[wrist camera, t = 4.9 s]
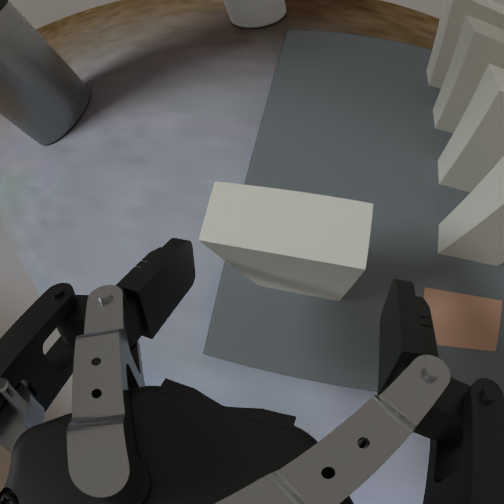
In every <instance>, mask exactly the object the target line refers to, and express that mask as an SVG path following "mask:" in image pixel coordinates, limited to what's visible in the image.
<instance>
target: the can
mask: <svg viewBox="0 0 504 504" xmlns="http://www.w3.org/2000/svg"><path fill="white" fill-rule="evenodd" d="M223 2H224V4H225V7H226V10H227V13H228V15H229V18H230V20H231V22H232V23H233V24H235V25H237V26H239V27H242V28H261V27H265V26H269V25H272V24H274V23H276V22H278V21H279V20H281V19H282V18H283V16H284V15H285V13H286V6H285V0H223Z"/></svg>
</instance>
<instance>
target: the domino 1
mask: <svg viewBox="0 0 504 504" xmlns="http://www.w3.org/2000/svg"><path fill="white" fill-rule="evenodd" d="M372 213H373V203H367V202H362V201H356V200H350V199H344V198H338V197H332V196H326V195H319V194H312V193H306V192H299V191H291V190H284V189H276V188H269V187H260V186H252V185H243V184H234V183H224V182H215V184H214V187H213V190H212V194H211V197H210V201H209V204H208V208H207V211H206V215H205V218H204V222H203V226H202V229H201V233H200V237H199V241H200V242H202V243H203V244H204V245H206V246H207V247H208V248H209V249H211V250H212V251H213V252H215V253H216V254H217V255H219V256H220V257H221V258H223V259H224V260H225V261H227V262H228V263H229V264H231V265H232V266H233V267H235V268H236V269H237V270H239V271H240V272H241V273H243V274H244V275H245V276H247V277H248V278H249V279H251V280H252V281H253V282H255V283H256V284H257V285H259V286H263V287H268V288H273V289H278V290H283V291H288V292H294V293H299V294H304V295H309V296H315V297H320V298H325V299H331V300H336V301H340V300H341V299H342V297H343V296H344V295H345V294H346V293H347V291H348V290H349V289H350V288H351V287H352V285H353V284H354V283H355V282H356V281H357V279H358V278H359V277H360V276H361V274H362V273H363V272H364V271H365V269H366V262H367V255H368V248H369V240H370V232H371V223H372Z"/></svg>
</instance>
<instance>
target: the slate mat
mask: <svg viewBox="0 0 504 504" xmlns="http://www.w3.org/2000/svg"><path fill="white" fill-rule="evenodd" d="M431 52H432V50H430V49H426V48H423V47H419V46H414V45H410V44H406V43H401V42H396V41H391V40H386V39H380V38H374V37H368V36H361V35H354V34H346V33H336V32H325V31H310V30H287V33H286V37H285V40H284V43H283V47H282V50H281V54H280V57H279V60H278V64H277V67H276V71H275V74H274V78H273V81H272V85H271V88H270V92H269V95H268V99H267V103H266V106H265V110H264V113H263V117H262V121H261V124H260V128H259V132H258V135H257V139H256V143H255V146H254V150H253V154H252V157H251V161H250V165H249V169H248V173H247V176H246V180H245V184H244V185H252V186H260V187H269V188H276V189H284V190H291V191H299V192H306V193H312V194H319V195H326V196H332V197H338V198H344V199H350V200H356V201H362V202H367V203H373V213H372V223H371V232H370V240H369V248H368V255H367V262H366V269H365V271H364V272H363V273H362V274H361V276H360V277H359V278H358V279H357V281H356V282H355V283H354V284H353V285H352V287H351V288H350V289H349V290H348V291H347V293H346V294H345V295H344V296H343V297H342V299H341V300H340V301H336V300H331V299H325V298H320V297H315V296H309V295H304V294H299V293H294V292H288V291H283V290H278V289H273V288H268V287H263V286H259V285H257V284H256V283H255V282H253V281H252V280H251V279H249V278H248V277H247V276H245V275H244V274H243V273H241V272H240V271H239V270H237V269H236V268H235V267H233V266H232V265H231V264H229V263H228V262H227V261H225V263H224V267H223V271H222V275H221V280H220V284H219V288H218V292H217V296H216V300H215V305H214V309H213V313H212V318H211V322H210V326H209V330H208V335H207V339H206V344H205V348H204V352H203V354H206V355H209V356H212V357H216V358H219V359H223V360H226V361H230V362H234V363H238V364H241V365H245V366H249V367H253V368H257V369H261V370H265V371H269V372H274V373H278V374H282V375H287V376H292V377H296V378H301V379H306V380H311V381H316V382H322V383H327V384H333V385H338V386H344V387H351V388H357V389H364V390H371V391H378V376H379V326H380V317H381V313H382V309H383V307H384V304H385V301H386V298H387V295H388V292H389V289H390V286H391V283H392V281H393V279H394V278H395V279H401V280H406V281H412V282H413V284H414V289H415V294H416V296H419V297H423V298H424V299H425V301H426V302H427V304H428V305H429V307H430V311H431V315H432V321H433V328H434V331H435V337H436V343H437V349H438V356H439V359H441V360H442V361H443V362H444V363H445V364H446V365H447V367H448V369H449V371H450V376H451V377H452V378H454V379H456V380H458V381H460V382H463V383H465V384H468V385H470V386H472V384H473V383H474V382H475V381H476V380H478V379H480V378H488V379H491V380H493V381H494V382H495V383H497V384H498V385H499V387H500V388H501V390H502V392H503V396H504V263H502V264H500V265H498V266H494V265H489V264H485V263H480V262H476V261H471V260H466V259H461V258H457V257H452V256H447V255H442V254H437V253H438V235H439V224H440V223H441V222H442V221H443V220H444V219H445V218H446V217H447V216H448V215H449V214H450V213H451V212H452V211H453V210H454V209H455V208H456V207H457V206H458V205H459V204H460V203H461V202H462V201H463V200H464V199H465V198H466V197H467V196H468V195H469V194H470V193H471V192H467V191H463V190H460V189H456V188H452V187H448V186H444V185H440V184H439V175H438V159H439V157H440V156H441V154H442V152H443V151H444V149H445V147H446V145H447V144H448V142H449V140H450V138H451V137H452V135H453V133H450V132H446V131H443V130H439V129H435V124H434V116H433V108H434V105H435V103H436V100H437V98H438V95H439V93H440V90H441V89H440V88H437V87H433V86H429V84H428V78H427V73H426V70H427V67H428V63H429V60H430V56H431Z"/></svg>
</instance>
